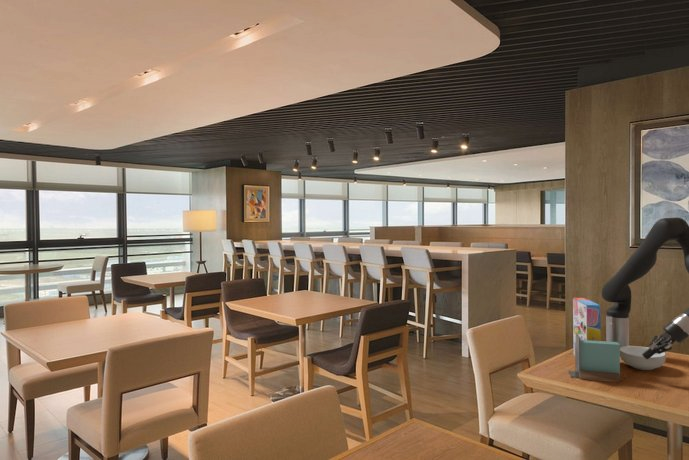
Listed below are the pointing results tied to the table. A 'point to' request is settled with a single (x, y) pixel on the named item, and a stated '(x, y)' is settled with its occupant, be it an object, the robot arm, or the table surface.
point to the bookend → (577, 358)
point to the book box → (600, 356)
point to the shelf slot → (597, 374)
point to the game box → (586, 320)
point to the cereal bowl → (641, 358)
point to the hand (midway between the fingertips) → (644, 357)
